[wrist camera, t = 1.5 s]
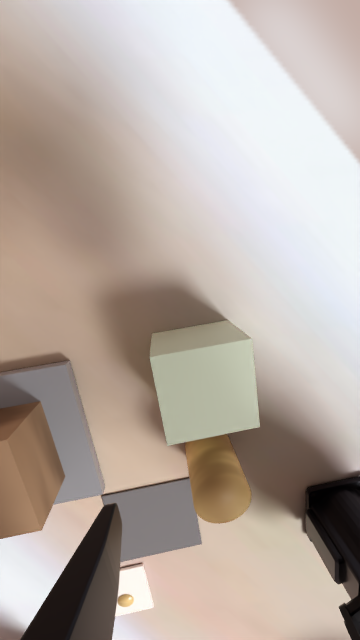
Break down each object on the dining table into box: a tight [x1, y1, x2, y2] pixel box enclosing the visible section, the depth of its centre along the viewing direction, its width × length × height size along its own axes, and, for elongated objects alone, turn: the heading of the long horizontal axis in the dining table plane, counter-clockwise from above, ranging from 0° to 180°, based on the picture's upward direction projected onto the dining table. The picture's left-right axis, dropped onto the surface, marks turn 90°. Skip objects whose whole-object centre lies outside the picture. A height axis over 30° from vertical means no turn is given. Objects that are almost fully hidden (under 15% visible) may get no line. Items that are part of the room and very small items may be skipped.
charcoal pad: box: [102, 478, 202, 562], centre depth 22 cm, size 8×8×1 cm
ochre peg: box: [185, 434, 251, 523], centre depth 18 cm, size 4×4×5 cm
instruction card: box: [115, 564, 154, 617], centre depth 23 cm, size 8×6×1 cm
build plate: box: [0, 360, 105, 505], centre depth 18 cm, size 12×12×1 cm
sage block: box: [150, 320, 260, 446], centre depth 16 cm, size 6×6×5 cm
